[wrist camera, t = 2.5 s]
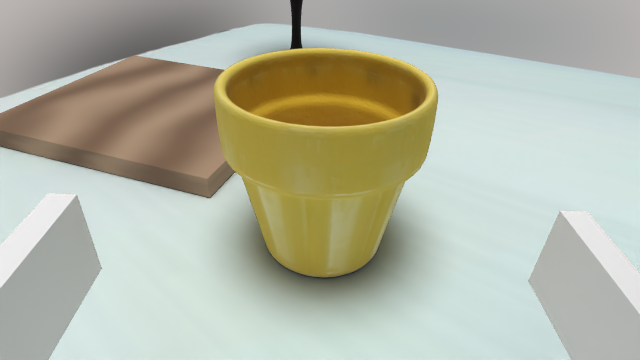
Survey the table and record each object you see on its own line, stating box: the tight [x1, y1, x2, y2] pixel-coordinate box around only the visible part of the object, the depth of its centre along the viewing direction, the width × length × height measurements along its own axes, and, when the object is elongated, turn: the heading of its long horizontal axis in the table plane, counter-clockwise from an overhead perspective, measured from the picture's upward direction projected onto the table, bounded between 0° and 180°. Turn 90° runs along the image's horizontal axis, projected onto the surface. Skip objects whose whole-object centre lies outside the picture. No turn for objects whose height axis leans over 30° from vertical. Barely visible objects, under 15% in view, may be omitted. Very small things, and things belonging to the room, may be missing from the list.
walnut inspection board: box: [0, 56, 235, 198], centre depth 37 cm, size 20×18×2 cm
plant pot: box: [214, 48, 438, 277], centre depth 22 cm, size 10×10×10 cm
